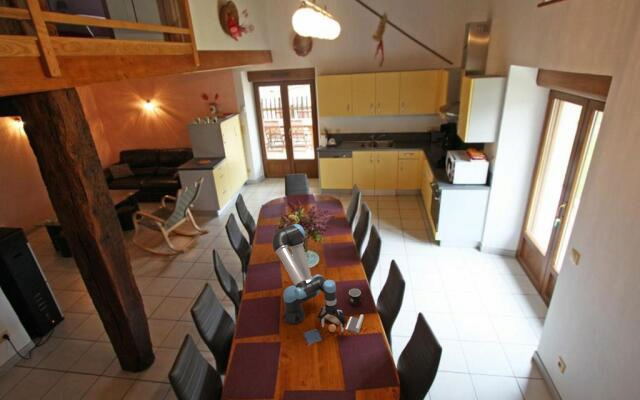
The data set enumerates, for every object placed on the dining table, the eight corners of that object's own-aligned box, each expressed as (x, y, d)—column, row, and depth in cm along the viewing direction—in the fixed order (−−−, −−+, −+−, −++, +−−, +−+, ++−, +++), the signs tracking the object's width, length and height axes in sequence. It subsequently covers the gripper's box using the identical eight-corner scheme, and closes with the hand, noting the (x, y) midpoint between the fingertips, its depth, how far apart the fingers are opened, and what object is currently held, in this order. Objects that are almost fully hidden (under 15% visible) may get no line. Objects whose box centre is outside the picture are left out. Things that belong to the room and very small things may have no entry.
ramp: (320, 321, 232) (320, 315, 229) (325, 312, 239) (324, 306, 237) (338, 325, 227) (338, 319, 225) (342, 316, 234) (342, 310, 232)
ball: (327, 332, 222) (327, 327, 220) (330, 327, 226) (329, 321, 224) (334, 334, 220) (334, 328, 218) (337, 329, 224) (336, 323, 222)
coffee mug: (347, 301, 248) (346, 290, 244) (357, 298, 251) (357, 287, 247) (354, 311, 238) (353, 300, 234) (364, 308, 241) (364, 297, 237)
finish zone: (345, 329, 223) (345, 325, 222) (350, 316, 234) (350, 312, 233) (358, 333, 220) (358, 328, 218) (363, 319, 231) (363, 314, 229)
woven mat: (302, 334, 222) (302, 332, 222) (317, 329, 226) (317, 327, 225) (307, 346, 213) (307, 344, 213) (322, 341, 217) (322, 338, 216)
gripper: (310, 302, 215) (313, 328, 223) (347, 310, 206) (349, 336, 214) (315, 295, 221) (317, 320, 229) (351, 302, 212) (352, 328, 220)
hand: (332, 328), depth 222 cm, fingers open, 13 cm apart
